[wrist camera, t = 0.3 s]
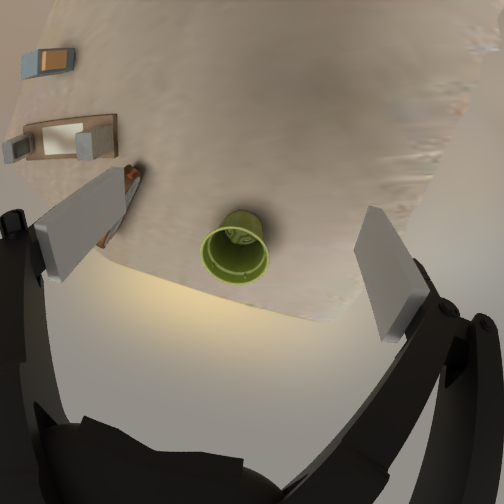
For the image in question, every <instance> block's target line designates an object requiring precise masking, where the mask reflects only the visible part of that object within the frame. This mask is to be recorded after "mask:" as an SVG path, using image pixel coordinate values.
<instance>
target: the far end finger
mask: <svg viewBox="0 0 504 504" xmlns="http://www.w3.org/2000/svg"><path fill="white" fill-rule="evenodd" d="M2 149H3V156H4V163H5V164H11V163H15V162H17V161H19V160H21V159H23V158H25V157H27V156H29V155H31V154H33V153H35V150H34V140H33V132H31V133H25V134H22V135H19V136H17V137H14V138H12V139H10V140H7V141H5V142H3V143H2Z"/></svg>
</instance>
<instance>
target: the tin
mask: <svg viewBox="0 0 504 504" xmlns="http://www.w3.org/2000/svg"><path fill="white" fill-rule="evenodd" d="M141 179H142V173H141V172H140V171H138V170H137V169H135V168H134V167H132V166H131V165H127V166H126V167H125V168H124V184H125V202H126V211H127V209H128V207H129V205H130V203H131V201H132V199H133V197H134V195H135V193H136V190H137V188H138V186H139V184H140V182H141ZM124 216H125V214H124V215H123V216H122V217H121V218H120V219H119V220H118V222H117V223H116V224H115V225H114V226H113V227H112V228H111V229H110V230H109V231H108V232H107V233H106V234H105V235H104V236H103V237H102V238H101V239H100V240H99V241H98V243H97V244H96V245H97V246H98V247H100V248H103V249H104V248H105V246H106V244H107V243H108V242H109V240H110V239H111V238H112V237H113V236H114V235H115V233H116V231H117V229H118V228H119V226H120V224H121V222H122V220H123V218H124Z"/></svg>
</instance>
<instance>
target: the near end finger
mask: <svg viewBox="0 0 504 504" xmlns="http://www.w3.org/2000/svg"><path fill="white" fill-rule="evenodd" d="M75 142H76V154H77V160H94V159H96V158H98V157H100V156H102V155H103V154H105V153H107V152H109V151H111V150H113V149H114V140H113V124H112V125H97V126H94V127H91V128H89V129H86V130H83V131H81V132H78V133H76V134H75Z"/></svg>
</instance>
